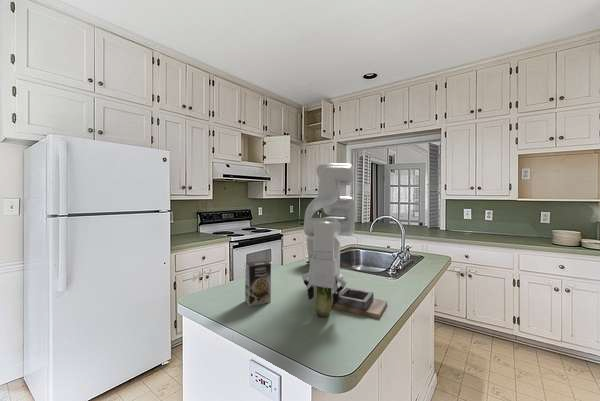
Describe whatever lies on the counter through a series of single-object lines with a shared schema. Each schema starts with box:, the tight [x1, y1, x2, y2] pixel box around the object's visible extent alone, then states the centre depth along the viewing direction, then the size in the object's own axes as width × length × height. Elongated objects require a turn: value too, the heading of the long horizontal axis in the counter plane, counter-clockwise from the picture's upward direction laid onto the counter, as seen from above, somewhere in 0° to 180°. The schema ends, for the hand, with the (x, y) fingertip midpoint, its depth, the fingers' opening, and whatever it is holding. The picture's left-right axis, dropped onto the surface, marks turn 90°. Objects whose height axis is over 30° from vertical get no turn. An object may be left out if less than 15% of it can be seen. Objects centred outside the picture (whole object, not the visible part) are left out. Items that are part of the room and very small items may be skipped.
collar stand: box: [331, 286, 388, 320], centre depth 115 cm, size 22×14×4 cm, turn 62°
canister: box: [305, 235, 314, 264], centre depth 174 cm, size 18×18×21 cm
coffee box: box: [244, 260, 272, 307], centre depth 117 cm, size 9×6×16 cm
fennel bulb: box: [314, 286, 332, 317], centre depth 106 cm, size 6×5×12 cm
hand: (322, 300), depth 106 cm, fingers open, 9 cm apart
